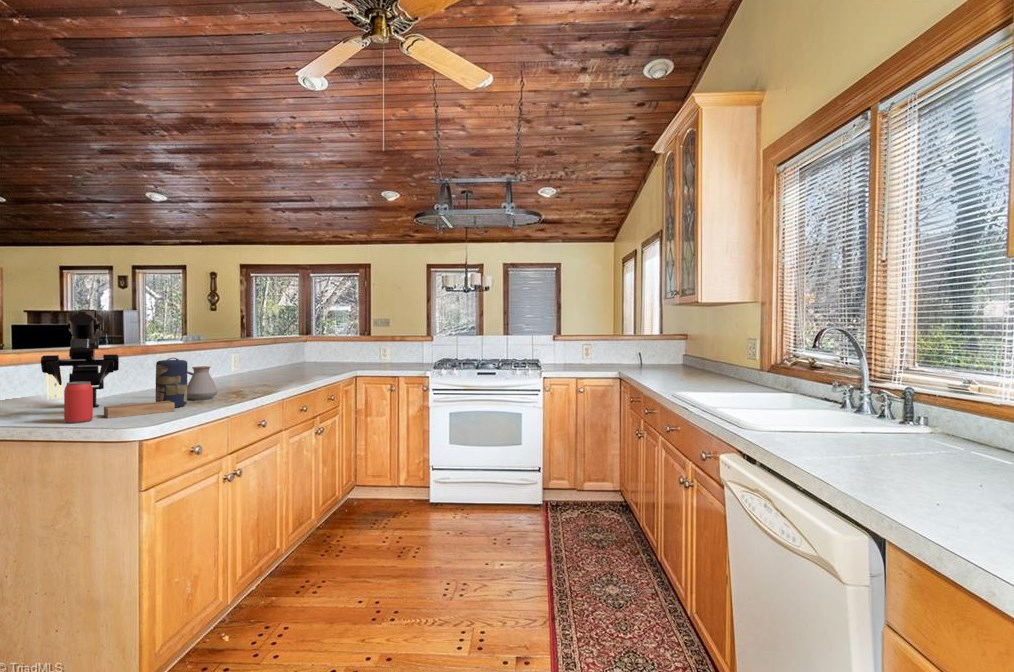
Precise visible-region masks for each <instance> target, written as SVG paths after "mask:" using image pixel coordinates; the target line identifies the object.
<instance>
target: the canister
mask: <svg viewBox="0 0 1014 672" xmlns="http://www.w3.org/2000/svg"><path fill="white" fill-rule="evenodd" d="M187 371H188V360H185V359H179V358H177V357H169V358H167V359H163V360H158V361H156V364H155V402H161V401H171V402H174V403H175V408H177V407H178V408H179V407H183V406H184V407H185V406H186V405H187V403H188V397H187V386H188V374H187Z"/></svg>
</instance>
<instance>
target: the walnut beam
mask: <svg viewBox="0 0 1014 672" xmlns="http://www.w3.org/2000/svg"><path fill="white" fill-rule="evenodd" d="M175 408H176V407H175V403H174V402H171V401H161V402H156V401H153V402H143V403H127V404H119V405H118V404H117V405H108V406H106V405H105V406H103V416H104V417H105V416H106V417H105V418H107V417H108V418H107V419H111V418H110V417H116V418H122V417H121V416H126V417H132V416H131V415H135V416H142V415H141V414H145V415H150V414H149V413H155V414H161V413H162V412H164V413H171V412H172V411H174V412H175ZM172 413H173V412H172Z"/></svg>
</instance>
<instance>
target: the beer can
mask: <svg viewBox="0 0 1014 672" xmlns="http://www.w3.org/2000/svg"><path fill="white" fill-rule="evenodd" d="M92 387H93V386H92V385H91V382H89V381H79V382H69V381H68V382H66V386H65V387H64V390H63V392H64V393H63V394H64V397H63V399H64V402H63V411H64V412H63V414H64V415H63V421H64V423H67V424H81V422H82V423H87V422H86V421H88V422H90V421H92V420H93V418H94V416H93V415H94V407H93V388H92Z"/></svg>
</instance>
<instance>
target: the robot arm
mask: <svg viewBox="0 0 1014 672" xmlns="http://www.w3.org/2000/svg"><path fill="white" fill-rule="evenodd" d="M104 323H105V322H104V317H103V316H102V315H100V314H98V311H97V310H96V309H88V308H87V309H84V308H83V309H79V310H78V313H75V314H73V315H71V316H70V317H69V321H68V323H67V329H68V331H69V332H70V334H71V335H72V336H71V339H70V348H69V350H68V352H69V353H68V355H69V358H60V355H59V354H58V355H57V354H56V355H55V354H53V355H51V354H50V355H49V354H48V355H43V356H41V357H40V366H41V372H42V373H43V374H48V375H50V376H53V378H55V380H56V381H57V383H58V385H59V386H62V383H63V382H62V374H61V367H71V366H72V370H71V373H69V375H68V376H69V378H68V382H79V381H89V382H91V385H92V388H93V408H95V407H96V408H97V407H98V406H99V407H100V404H98V403H97V390H104V389H105V387H104V386H105V385H104V383H105V382H104V379H105V378H106V377H107V376H108V375H109V374H110V373H114V372H116V371H119V370H120V369H119V368H120V367H119V366H120V365H119V364H120V361H119V358H120V356H119V355H118V354H115V353H114V354H113V353H112V354H103V358H100V359H97V358H96V359H95V355H96V350H99V348H100V347H99V346H100V342H99V341H100V340H99V339H100V338H101V337H102V332H104V329H105V328H104V326H105V325H104ZM99 367H100V370H99Z"/></svg>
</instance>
